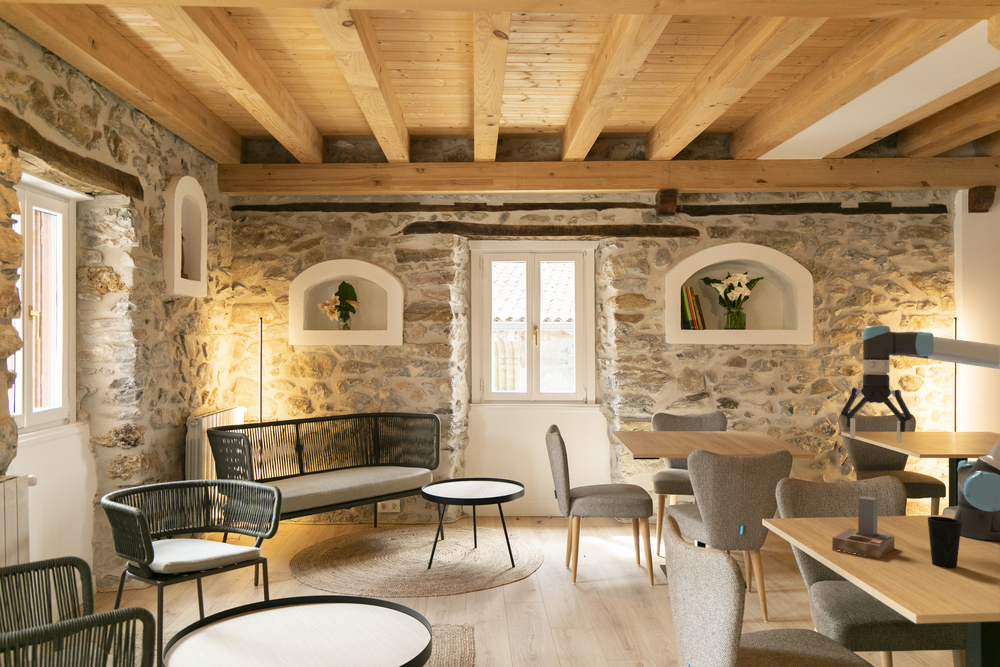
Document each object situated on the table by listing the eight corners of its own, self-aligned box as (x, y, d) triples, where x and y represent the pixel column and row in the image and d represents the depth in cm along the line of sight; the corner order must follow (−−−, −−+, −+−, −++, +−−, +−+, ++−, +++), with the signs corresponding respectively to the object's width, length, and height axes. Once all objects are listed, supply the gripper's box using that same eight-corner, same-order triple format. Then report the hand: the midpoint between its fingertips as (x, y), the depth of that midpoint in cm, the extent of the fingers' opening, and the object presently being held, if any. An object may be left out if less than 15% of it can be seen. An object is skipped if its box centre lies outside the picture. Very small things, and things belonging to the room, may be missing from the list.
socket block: (894, 548, 203) (894, 534, 203) (879, 558, 191) (879, 544, 191) (849, 539, 211) (849, 526, 211) (832, 549, 199) (832, 536, 199)
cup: (950, 570, 181) (950, 524, 182) (921, 562, 188) (921, 517, 189) (967, 567, 185) (967, 521, 185) (938, 559, 192) (938, 515, 192)
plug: (877, 546, 204) (877, 498, 204) (873, 549, 201) (873, 500, 201) (862, 543, 207) (862, 496, 207) (858, 546, 204) (858, 497, 204)
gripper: (831, 372, 231) (830, 437, 230) (917, 375, 214) (917, 445, 213) (838, 372, 236) (837, 435, 236) (923, 375, 219) (922, 443, 219)
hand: (875, 440), depth 224 cm, fingers open, 13 cm apart
